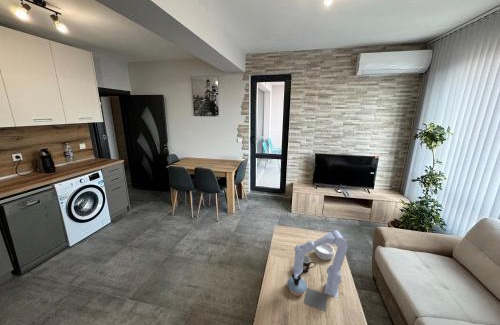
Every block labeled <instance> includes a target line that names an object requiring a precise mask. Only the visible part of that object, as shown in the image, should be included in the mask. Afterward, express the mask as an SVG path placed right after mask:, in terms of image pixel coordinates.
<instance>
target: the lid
mask: <svg viewBox="0 0 500 325" xmlns="http://www.w3.org/2000/svg"><path fill="white" fill-rule="evenodd" d="M286 285H287V288H288V290H289V289H290V290H291V291H293V292H295V293H303V292H304V293H306V291H307V288H308V286H307V282H306V281H305V280H304V279H303V278H301V279H300V280H299V283H298V285H295V284H294V280H293V278H292V276H291V277H290V278H288V280H287V282H286ZM290 290H289V291H290ZM304 293H303V294H304Z"/></svg>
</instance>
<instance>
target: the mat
mask: <svg viewBox="0 0 500 325" xmlns="http://www.w3.org/2000/svg"><path fill="white" fill-rule="evenodd" d="M327 300H328V294H326V293H325V292H321V291H318V290H315V289H312V288H309V287H307V289H306V291H305V296H304V301H303V304H305V305H308V306H310V307H313V308H315V309H318V310H320V311H324V312H327V302H328V301H327Z"/></svg>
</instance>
